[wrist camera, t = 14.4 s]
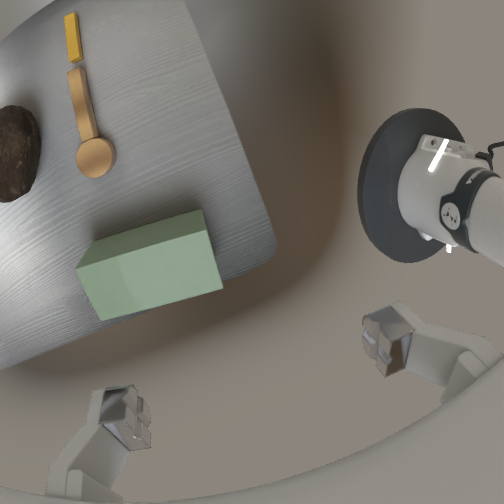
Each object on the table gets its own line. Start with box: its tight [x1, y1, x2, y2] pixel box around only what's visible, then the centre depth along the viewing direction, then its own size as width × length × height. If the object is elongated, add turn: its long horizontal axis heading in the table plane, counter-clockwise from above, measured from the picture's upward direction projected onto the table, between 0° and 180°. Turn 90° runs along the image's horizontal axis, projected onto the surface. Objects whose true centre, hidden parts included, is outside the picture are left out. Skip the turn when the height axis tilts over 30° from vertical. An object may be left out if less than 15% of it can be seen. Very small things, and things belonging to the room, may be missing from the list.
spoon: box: [67, 67, 116, 178], centre depth 28 cm, size 14×5×2 cm, turn 12°
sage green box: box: [75, 209, 223, 321], centre depth 33 cm, size 15×7×8 cm, turn 102°
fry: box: [64, 13, 83, 63], centre depth 23 cm, size 1×7×1 cm, turn 11°
